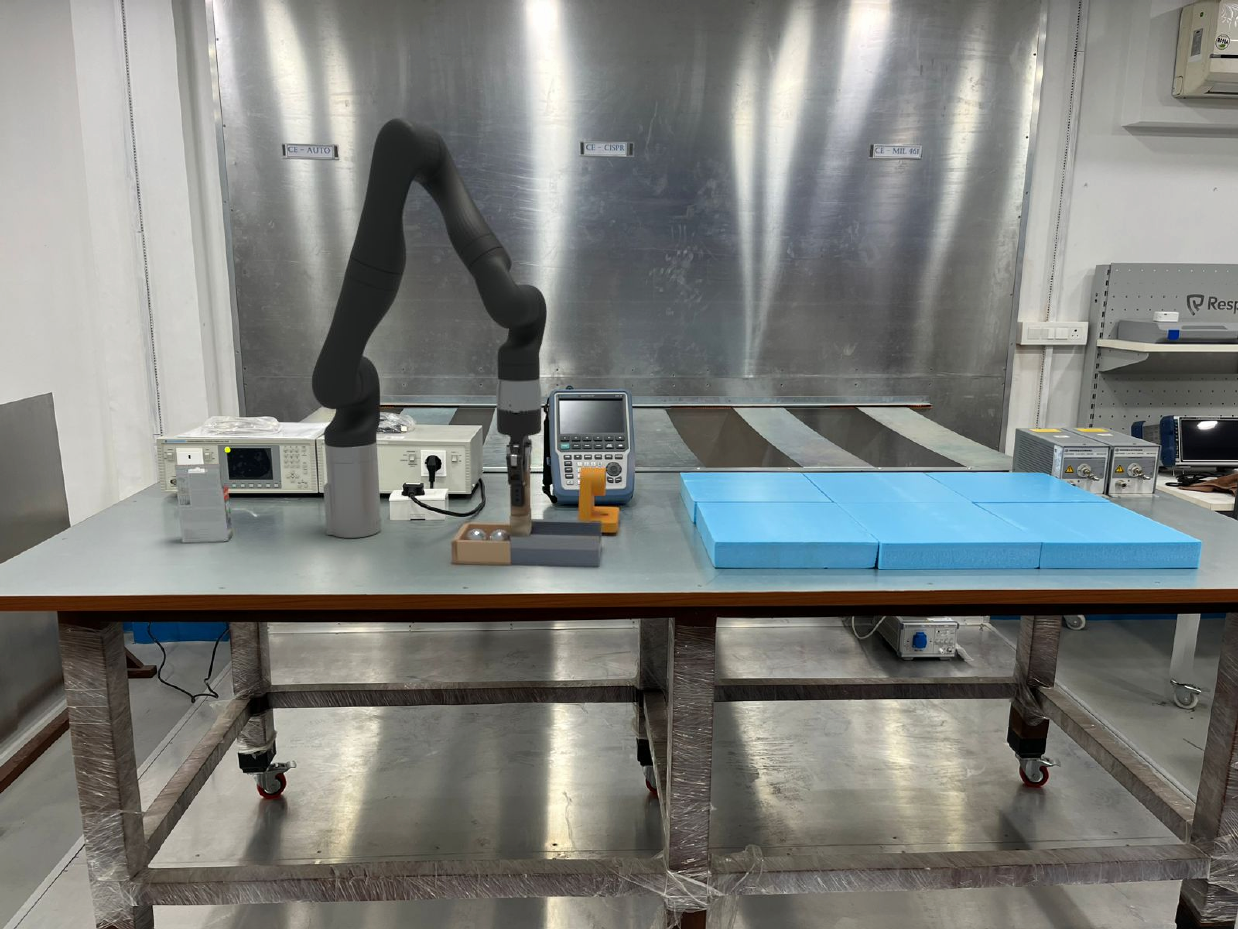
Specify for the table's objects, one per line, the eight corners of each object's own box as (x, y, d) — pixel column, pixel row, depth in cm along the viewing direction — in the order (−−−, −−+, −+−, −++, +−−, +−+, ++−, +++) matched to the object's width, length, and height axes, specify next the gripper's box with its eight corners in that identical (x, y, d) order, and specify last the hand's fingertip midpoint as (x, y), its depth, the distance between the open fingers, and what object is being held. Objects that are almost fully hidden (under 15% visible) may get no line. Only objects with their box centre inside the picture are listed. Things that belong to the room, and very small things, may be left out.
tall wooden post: (510, 539, 145) (508, 460, 142) (514, 529, 151) (513, 453, 147) (527, 539, 145) (526, 460, 142) (531, 529, 151) (530, 453, 147)
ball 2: (481, 543, 146) (498, 529, 145) (486, 536, 150) (502, 522, 149) (497, 560, 147) (514, 546, 146) (501, 552, 151) (517, 538, 150)
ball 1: (458, 540, 146) (476, 528, 146) (462, 533, 150) (480, 521, 150) (471, 559, 147) (490, 547, 146) (476, 551, 151) (494, 539, 150)
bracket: (616, 536, 160) (617, 475, 157) (578, 535, 160) (578, 474, 157) (619, 520, 170) (620, 462, 167) (583, 519, 170) (583, 461, 168)
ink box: (188, 537, 155) (179, 460, 152) (233, 535, 156) (226, 459, 153) (181, 544, 152) (172, 465, 148) (228, 542, 153) (220, 464, 150)
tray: (452, 564, 144) (451, 541, 143) (465, 543, 154) (464, 522, 153) (510, 565, 143) (510, 543, 142) (519, 544, 154) (519, 523, 153)
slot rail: (510, 564, 144) (510, 536, 142) (519, 544, 154) (519, 518, 153) (598, 567, 143) (598, 539, 142) (601, 546, 153) (601, 520, 152)
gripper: (503, 398, 149) (504, 491, 153) (489, 411, 136) (491, 514, 140) (545, 399, 149) (545, 492, 153) (535, 412, 136) (536, 515, 140)
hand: (519, 502), depth 146 cm, fingers closed on tall wooden post, 3 cm apart
